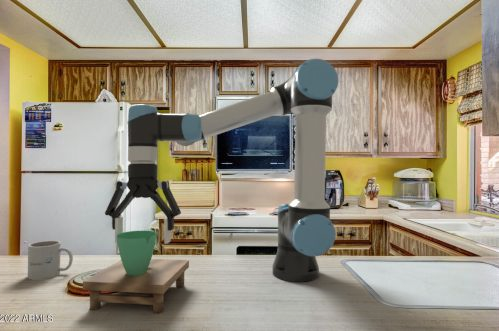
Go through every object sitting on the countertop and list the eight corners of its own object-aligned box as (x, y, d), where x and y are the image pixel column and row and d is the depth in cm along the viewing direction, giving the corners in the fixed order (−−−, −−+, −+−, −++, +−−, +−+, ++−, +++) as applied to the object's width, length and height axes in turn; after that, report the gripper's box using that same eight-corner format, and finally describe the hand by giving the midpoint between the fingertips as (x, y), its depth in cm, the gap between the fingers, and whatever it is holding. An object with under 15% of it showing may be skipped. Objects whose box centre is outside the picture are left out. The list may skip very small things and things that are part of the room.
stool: (188, 283, 92) (188, 260, 92) (163, 315, 72) (163, 285, 72) (124, 281, 94) (124, 257, 94) (82, 310, 74) (82, 281, 74)
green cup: (146, 280, 75) (147, 238, 75) (108, 278, 76) (108, 237, 76) (168, 262, 90) (168, 227, 90) (135, 261, 91) (136, 226, 91)
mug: (20, 280, 94) (21, 247, 94) (39, 270, 103) (40, 240, 103) (61, 280, 94) (62, 247, 94) (76, 270, 103) (77, 240, 103)
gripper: (192, 163, 86) (192, 239, 86) (106, 163, 88) (107, 238, 88) (183, 162, 78) (183, 246, 78) (90, 163, 81) (90, 244, 81)
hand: (143, 242), depth 83 cm, fingers open, 13 cm apart
